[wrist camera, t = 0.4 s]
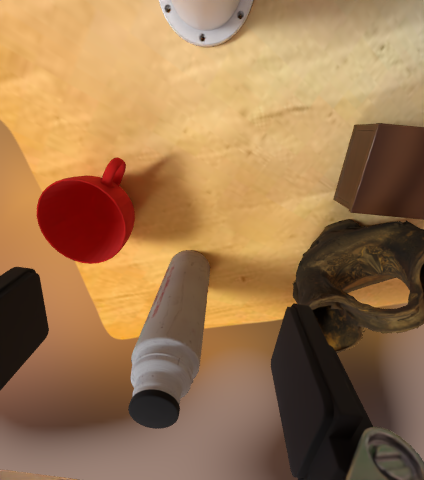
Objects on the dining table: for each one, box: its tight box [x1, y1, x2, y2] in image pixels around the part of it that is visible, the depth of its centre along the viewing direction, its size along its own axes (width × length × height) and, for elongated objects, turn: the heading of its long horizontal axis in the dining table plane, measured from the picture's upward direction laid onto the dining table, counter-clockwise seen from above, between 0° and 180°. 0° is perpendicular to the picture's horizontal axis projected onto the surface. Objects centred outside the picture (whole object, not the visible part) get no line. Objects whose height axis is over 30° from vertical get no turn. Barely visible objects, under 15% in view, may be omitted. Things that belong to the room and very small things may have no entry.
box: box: [334, 124, 376, 209], centre depth 38 cm, size 13×12×7 cm
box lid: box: [349, 123, 424, 219], centre depth 34 cm, size 13×12×1 cm
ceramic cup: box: [37, 158, 135, 264], centre depth 40 cm, size 13×17×10 cm
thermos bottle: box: [128, 250, 210, 428], centre depth 37 cm, size 8×8×28 cm
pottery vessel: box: [293, 220, 424, 353], centre depth 37 cm, size 25×11×20 cm, turn 121°
